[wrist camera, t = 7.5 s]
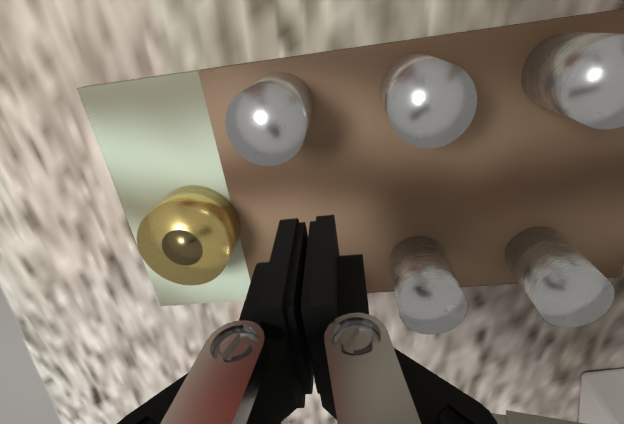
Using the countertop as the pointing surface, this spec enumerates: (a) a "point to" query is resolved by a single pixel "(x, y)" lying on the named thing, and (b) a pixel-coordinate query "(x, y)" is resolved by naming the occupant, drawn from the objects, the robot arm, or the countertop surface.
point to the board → (375, 160)
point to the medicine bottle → (602, 397)
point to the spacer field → (443, 130)
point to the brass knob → (189, 235)
